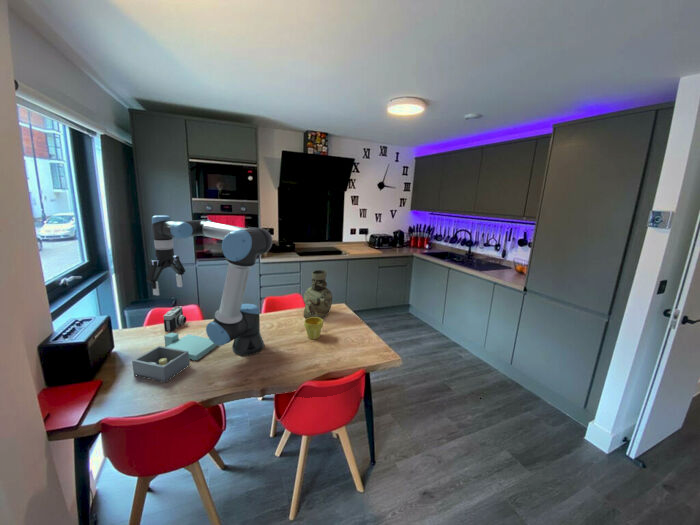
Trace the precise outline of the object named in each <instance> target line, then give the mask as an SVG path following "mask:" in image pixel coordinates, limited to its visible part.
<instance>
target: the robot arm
mask: <svg viewBox="0 0 700 525" xmlns="http://www.w3.org/2000/svg"><path fill="white" fill-rule="evenodd" d="M151 227H152V235H153V244H154V248H155V250H154V253H155V257H156V260H150V267H149V270H148V273H147V277H146V279H145V282H147V283H150V288H151V289H152V295H153V296H160V288H159V287H160V286H159V281H157V280H158V279H159V278H160V276H161V274H162V271H163V270H164V269H167V268H171V269H172V270H173V271H174V272H175V273H176V274H175V279H176V287H178V288H182V287H183V275H184V274H185V273H186V269H185V267H184V265H183V263H182V262H181V260H180V256H179V255H175V251H174V250H175V249H174V239H175V238H176V239H178V240H179V239H181V240H182V239H188V238H190V237H196V236H203V237H206V238H207V237H208V238H212V239H213V238H214V239H218V240H222V243H221V251H223V252H222V254H223V255H224V257H225V261H226V262H227V263H228V265H227V266H228V267H227V271H226V277H225V281H224V286H223V289H222V290H223V291H222V295H221V301H220V305H219V309H218V310H216V311H215V313H214V317H213V320H211V321H210V322H209V323H207V325H206V326H205V332H206V335H207V338H208V339H210V340H211V341H212V342H213V343H214V344H216V345H218V346H225V345H226V344H229V343H230V342H232V341H233V343H232V345H231V346H232V348H231V349H232V353H233V354H235V355H236V356H237V355H238V356H242V357H243V356H244V357H245V356H251V355H255V354H257V353H260V352H261V351H262V350H263V349H264V347H265V344H264V343H265V341H264V339H263V337H262V335H261V330H260V320H261V319H260V307H259V306H258V305H256V304H252V303H243V302H244V297H245V292H246V288H247V285H248V284H247V283H248V280H249V279H248V278H249V276H250V275H249V274H250V271H251V267H254V266H255V264H256V261H257V257H258V256H261V255H264V254H266V253H267V252H269V251H270V249H271V248H272V246H273V237H272V234H271V233H270V232H269V231H268V230H267V229H265V228H262V227H255V226H254V227H253V226H249V227H248V228H247V227H241V226H236V225H230V224H224V223H220V222H219V223H218V222H214V221H212V220H210V219H196V220H181V221H180V220H178V221H177V220H176V221H175V220H172V219H171V216H170V215H160V214H159V215H158V214H157V215H153V216H152V217H151ZM173 238H174V239H173Z"/></svg>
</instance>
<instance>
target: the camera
mask: <svg viewBox="0 0 700 525" xmlns="http://www.w3.org/2000/svg"><path fill="white" fill-rule="evenodd" d="M186 322H187V317H186V316H185V315H184V314H183V306H179V305H177V306H174V307H172V308H171V310H169V311H166V313H165V314H164V315H163V326H164V332H168V331H170V332H174V331H175V330H176V329H177V328H178V327H179V326H182V325H184V324H185V323H186ZM168 333H169V332H168Z"/></svg>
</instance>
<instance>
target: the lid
mask: <svg viewBox="0 0 700 525" xmlns="http://www.w3.org/2000/svg"><path fill="white" fill-rule="evenodd" d="M218 346H219V345H216V344H214V343H213V342H212V341H211V340H210V339H209V337H204V336H203V337H202V336H199V335H192V334H186V335H185V336H183V337H181V338H179V333H175V332H168V333H167V334H166V335H164V347H168V348H173V349H178V350H183V351H188V353H189V360H190V359H192V361H195V360H197V361H198V360H199V359H201V358H202V357H204V356H206V354H208V353H209V352H211V351H212V350H214V349H215V348H216V347H218ZM203 355H204V356H203Z"/></svg>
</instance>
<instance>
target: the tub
mask: <svg viewBox="0 0 700 525" xmlns="http://www.w3.org/2000/svg"><path fill="white" fill-rule="evenodd" d="M131 362H132V363H131V364H132V371H133V372H132V373H133V376H134V375H137V376H136V377H138V376H140V377H139V378H142V377H145V378H144V379H147V378H150V379H149V380H151V379H154V380H153V381H155V380H157V381H156V382H160V381H162V382H161V383H164V382H165V383H167V382H168V381H170V380H171V379H172V377H173V376H174V375H175V376H176V374H177V373H178V374H179V372H180V371H181V370H182V371H184V370H185V369H187V368H188V367H190V366H189V365H191V364H190V359H189V353H188V351H183V350H178V349H173V348H168V347H165V346H161V345H158V346H156V347H155V348H153V349H151V350H149V351H147V352H145V353H143V354H142V355H139V356H138V357H136V358H135V359H132V360H131ZM187 366H188V367H187ZM186 367H187V368H186ZM184 368H185V369H184ZM183 369H184V370H183ZM182 371H181V372H182ZM181 372H180V373H181ZM178 374H177V375H178ZM175 376H174V377H175ZM174 377H173V378H174ZM170 378H171V379H170ZM169 379H170V380H169ZM167 380H168V381H167ZM166 381H167V382H166Z"/></svg>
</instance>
